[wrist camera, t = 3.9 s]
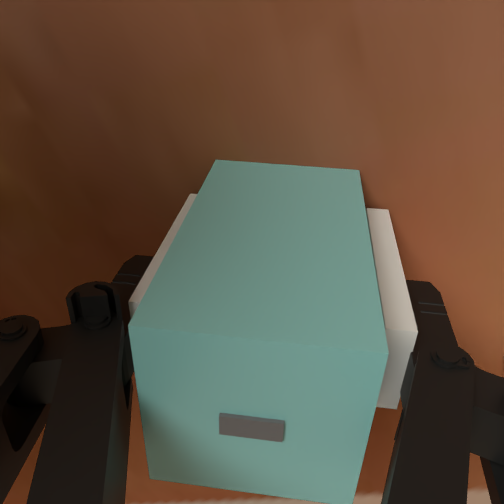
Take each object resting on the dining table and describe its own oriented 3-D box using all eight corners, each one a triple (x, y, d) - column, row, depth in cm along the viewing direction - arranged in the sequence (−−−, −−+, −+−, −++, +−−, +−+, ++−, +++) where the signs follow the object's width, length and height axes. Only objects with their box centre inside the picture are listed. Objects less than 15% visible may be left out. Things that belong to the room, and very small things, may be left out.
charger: (217, 276, 20) (148, 482, 12) (215, 159, 17) (125, 328, 9) (341, 287, 19) (352, 510, 11) (359, 170, 16) (389, 357, 9)
